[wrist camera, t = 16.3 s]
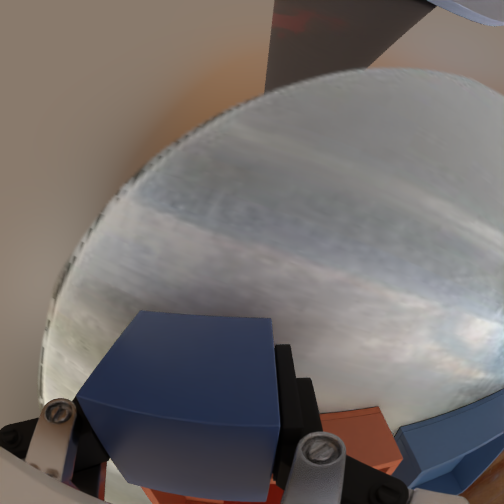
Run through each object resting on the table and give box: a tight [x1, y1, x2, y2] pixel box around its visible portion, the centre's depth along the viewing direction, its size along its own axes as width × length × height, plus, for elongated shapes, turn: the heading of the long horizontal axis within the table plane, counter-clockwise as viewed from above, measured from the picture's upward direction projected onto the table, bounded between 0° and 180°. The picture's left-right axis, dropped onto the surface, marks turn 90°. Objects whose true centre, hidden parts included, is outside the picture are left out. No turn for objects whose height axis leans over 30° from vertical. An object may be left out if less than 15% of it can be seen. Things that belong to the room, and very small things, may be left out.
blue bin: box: [391, 389, 504, 495], centre depth 14 cm, size 14×14×5 cm
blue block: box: [76, 310, 280, 502], centre depth 8 cm, size 5×5×5 cm
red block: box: [223, 484, 284, 504], centre depth 13 cm, size 5×5×5 cm
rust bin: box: [141, 407, 403, 504], centre depth 13 cm, size 14×14×5 cm
